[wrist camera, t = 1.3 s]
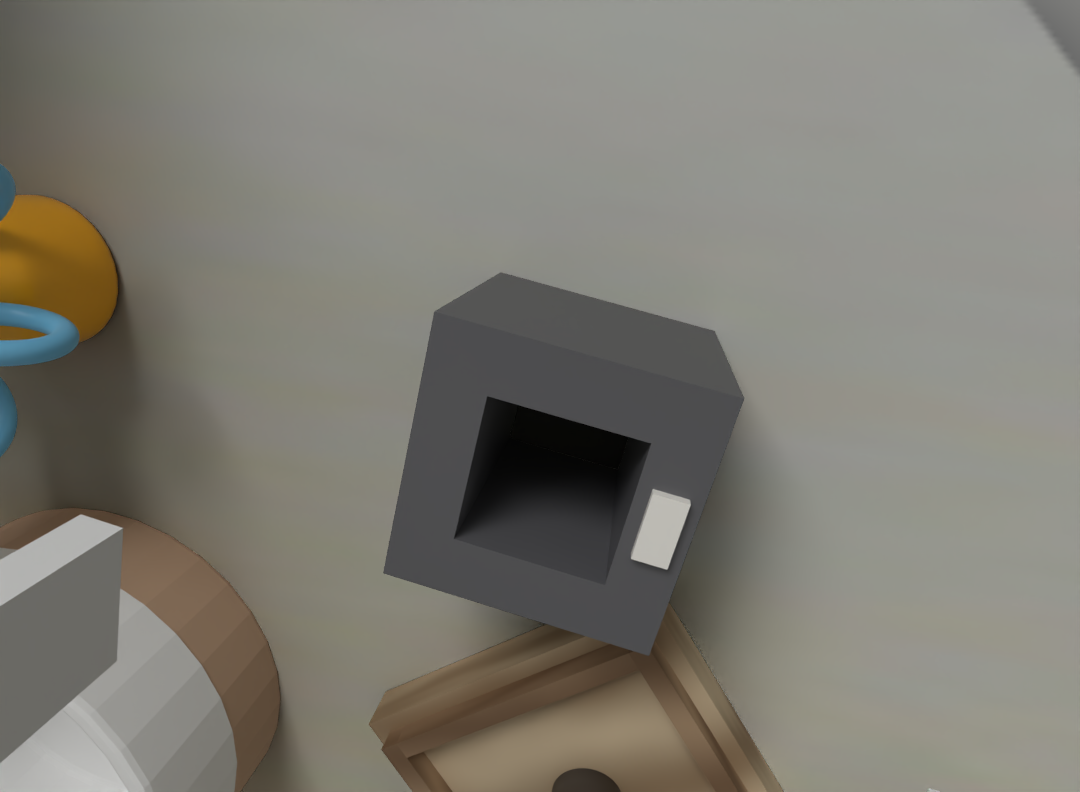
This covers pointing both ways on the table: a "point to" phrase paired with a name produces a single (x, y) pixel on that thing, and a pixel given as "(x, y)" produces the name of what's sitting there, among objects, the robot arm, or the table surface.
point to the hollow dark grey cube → (561, 458)
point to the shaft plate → (571, 720)
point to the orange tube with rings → (47, 285)
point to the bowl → (157, 680)
